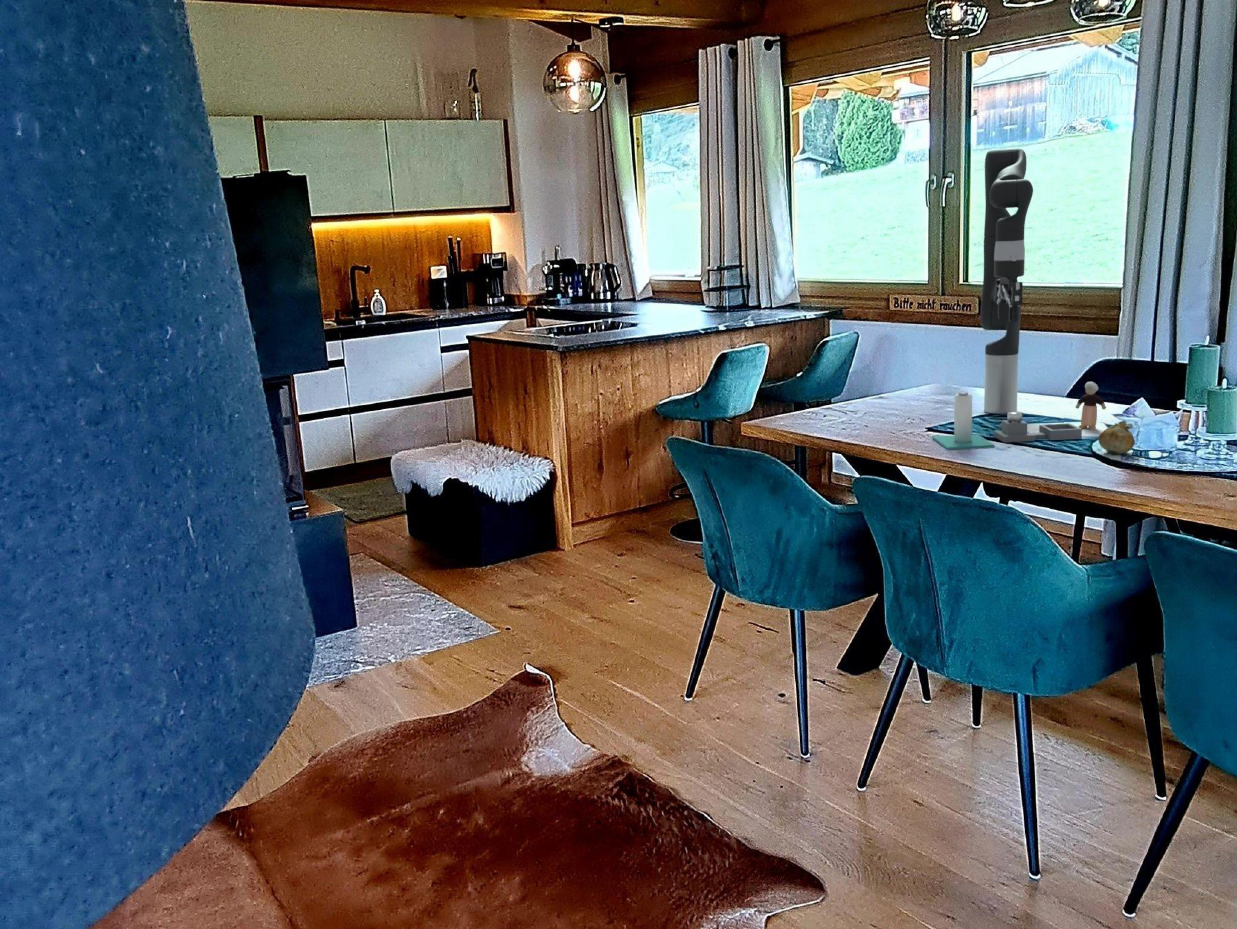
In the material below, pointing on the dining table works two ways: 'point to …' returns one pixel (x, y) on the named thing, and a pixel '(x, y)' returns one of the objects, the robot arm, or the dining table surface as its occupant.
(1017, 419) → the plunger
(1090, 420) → the grandmother figurine
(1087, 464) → the dining table surface
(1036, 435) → the dock
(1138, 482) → the dining table surface
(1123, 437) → the onion
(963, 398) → the cylinder
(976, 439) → the mat
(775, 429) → the dining table surface
